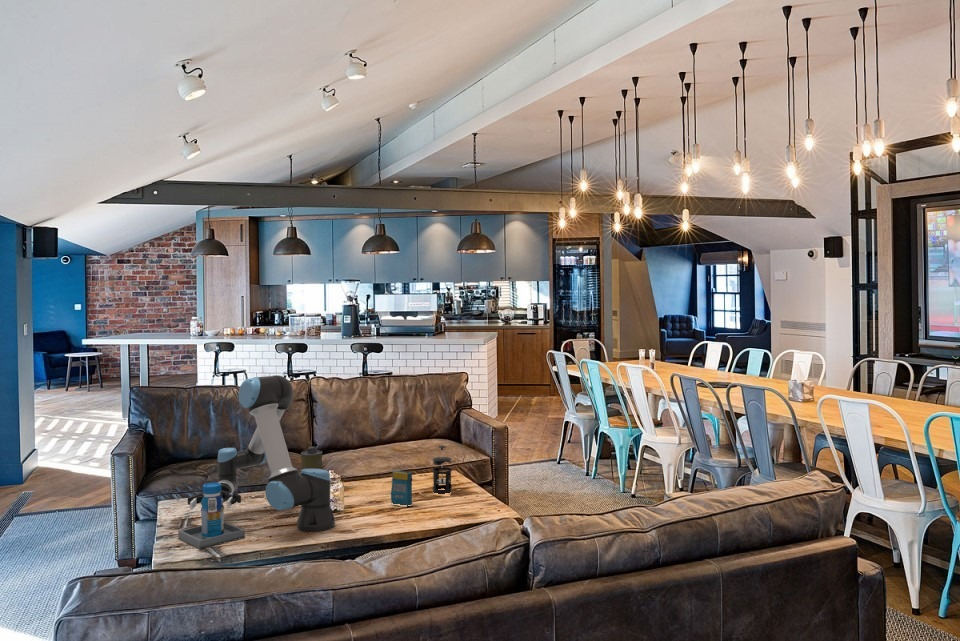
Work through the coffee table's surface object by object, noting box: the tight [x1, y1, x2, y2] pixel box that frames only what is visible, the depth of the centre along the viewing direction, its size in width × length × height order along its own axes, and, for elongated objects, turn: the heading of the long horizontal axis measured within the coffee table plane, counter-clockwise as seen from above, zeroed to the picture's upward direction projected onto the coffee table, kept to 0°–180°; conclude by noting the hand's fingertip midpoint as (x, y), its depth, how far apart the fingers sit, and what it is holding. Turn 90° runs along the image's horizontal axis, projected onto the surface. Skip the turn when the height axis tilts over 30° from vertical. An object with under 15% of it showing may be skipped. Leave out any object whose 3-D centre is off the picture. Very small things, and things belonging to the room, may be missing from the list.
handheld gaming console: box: [390, 470, 413, 506], centre depth 323 cm, size 10×4×15 cm, turn 65°
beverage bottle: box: [200, 482, 225, 539], centre depth 279 cm, size 8×8×20 cm
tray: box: [177, 521, 246, 550], centre depth 279 cm, size 18×18×3 cm
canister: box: [300, 446, 323, 470], centre depth 357 cm, size 11×10×20 cm
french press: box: [432, 445, 453, 494], centre depth 343 cm, size 12×9×23 cm
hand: (209, 505), depth 276 cm, fingers open, 13 cm apart
